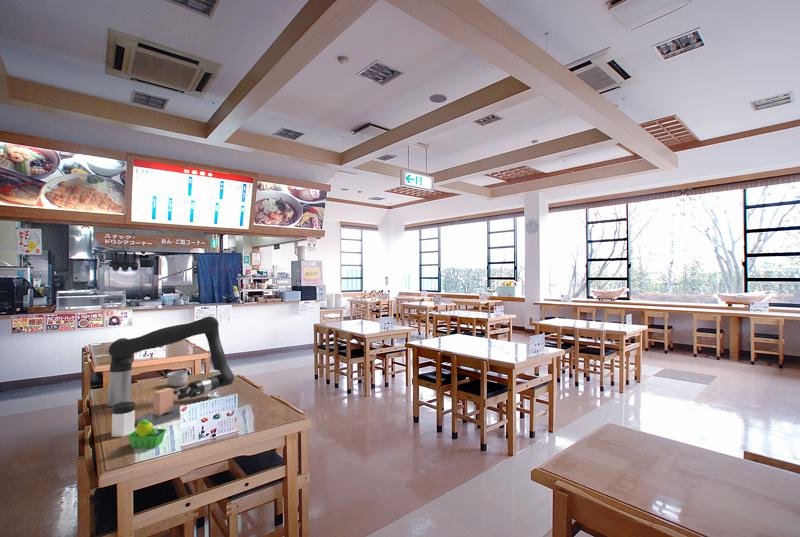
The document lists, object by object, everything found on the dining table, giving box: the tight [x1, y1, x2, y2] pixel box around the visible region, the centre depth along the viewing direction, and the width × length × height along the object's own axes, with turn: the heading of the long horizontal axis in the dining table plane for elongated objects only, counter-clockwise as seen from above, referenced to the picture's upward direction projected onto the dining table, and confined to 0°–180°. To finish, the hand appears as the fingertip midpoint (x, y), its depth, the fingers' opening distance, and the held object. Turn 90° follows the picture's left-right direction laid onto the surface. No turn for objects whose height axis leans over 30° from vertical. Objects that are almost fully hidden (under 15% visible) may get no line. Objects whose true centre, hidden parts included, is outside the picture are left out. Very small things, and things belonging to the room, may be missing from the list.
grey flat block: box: [135, 404, 181, 427], centre depth 186 cm, size 20×9×2 cm, turn 160°
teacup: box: [166, 369, 189, 387], centre depth 240 cm, size 14×11×8 cm
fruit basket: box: [127, 419, 167, 449], centre depth 157 cm, size 11×9×11 cm
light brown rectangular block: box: [152, 387, 174, 416], centre depth 186 cm, size 7×4×13 cm, turn 160°
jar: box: [111, 401, 136, 438], centre depth 168 cm, size 9×8×12 cm
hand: (171, 396), depth 190 cm, fingers open, 8 cm apart
